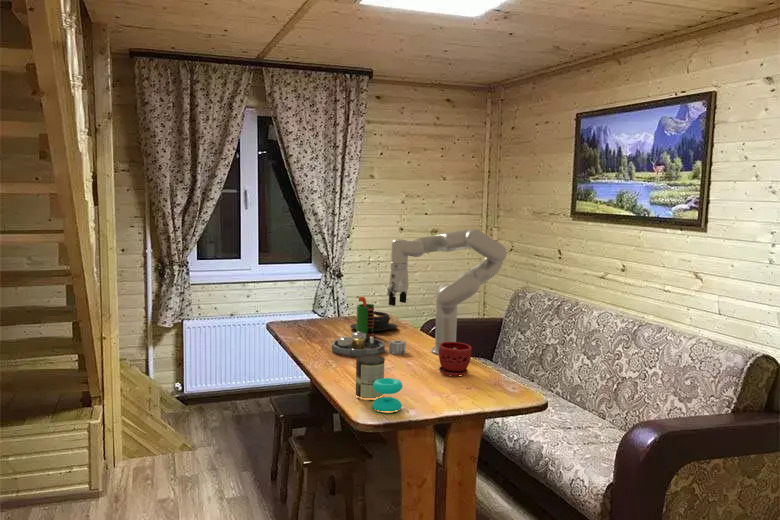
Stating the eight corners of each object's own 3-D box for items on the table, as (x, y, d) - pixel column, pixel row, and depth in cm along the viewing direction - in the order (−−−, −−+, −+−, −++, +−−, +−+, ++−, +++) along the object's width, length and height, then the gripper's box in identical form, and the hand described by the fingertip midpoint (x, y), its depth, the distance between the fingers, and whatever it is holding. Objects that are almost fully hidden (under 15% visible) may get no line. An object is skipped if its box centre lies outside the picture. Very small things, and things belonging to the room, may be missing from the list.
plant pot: (444, 379, 262) (445, 349, 260) (433, 370, 274) (434, 341, 273) (475, 377, 265) (476, 348, 264) (463, 368, 278) (464, 340, 276)
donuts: (408, 383, 223) (382, 387, 217) (407, 411, 224) (382, 416, 219) (392, 375, 231) (367, 379, 226) (391, 403, 232) (367, 407, 227)
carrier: (393, 348, 308) (394, 333, 308) (367, 360, 287) (368, 343, 286) (349, 341, 320) (349, 326, 319) (321, 352, 299) (321, 336, 298)
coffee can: (349, 396, 238) (350, 358, 236) (368, 390, 246) (369, 353, 244) (371, 403, 232) (371, 363, 230) (389, 396, 240) (390, 358, 238)
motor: (373, 339, 325) (374, 299, 323) (355, 338, 326) (356, 298, 323) (374, 334, 335) (375, 295, 333) (356, 334, 336) (357, 295, 333)
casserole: (354, 334, 334) (354, 318, 333) (346, 326, 352) (347, 311, 351) (401, 333, 341) (402, 317, 340) (392, 325, 359) (392, 310, 358)
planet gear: (408, 352, 302) (408, 341, 302) (400, 355, 296) (401, 344, 295) (393, 349, 306) (394, 339, 305) (386, 353, 299) (386, 342, 299)
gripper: (396, 269, 291) (395, 307, 293) (415, 265, 306) (413, 302, 308) (382, 267, 295) (380, 305, 297) (401, 264, 309) (399, 300, 311)
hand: (397, 303), depth 302 cm, fingers open, 9 cm apart
